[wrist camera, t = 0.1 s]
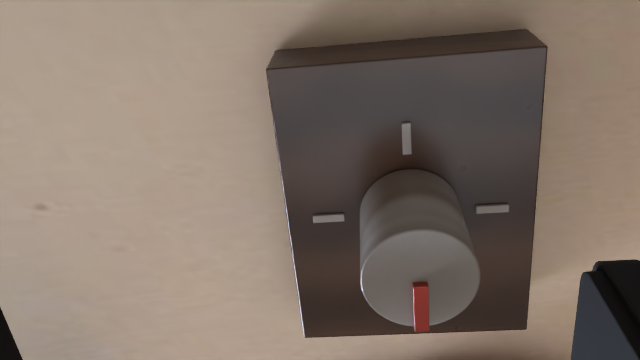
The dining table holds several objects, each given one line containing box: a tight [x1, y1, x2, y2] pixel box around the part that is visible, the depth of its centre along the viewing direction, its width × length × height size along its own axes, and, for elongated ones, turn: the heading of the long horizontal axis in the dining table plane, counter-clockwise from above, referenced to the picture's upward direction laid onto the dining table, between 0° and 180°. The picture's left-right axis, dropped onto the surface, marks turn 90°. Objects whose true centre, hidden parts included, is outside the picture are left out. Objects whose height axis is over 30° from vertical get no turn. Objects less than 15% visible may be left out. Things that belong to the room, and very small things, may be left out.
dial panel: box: [266, 29, 548, 338], centre depth 27 cm, size 14×11×3 cm
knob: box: [360, 169, 480, 332], centre depth 24 cm, size 4×4×5 cm
